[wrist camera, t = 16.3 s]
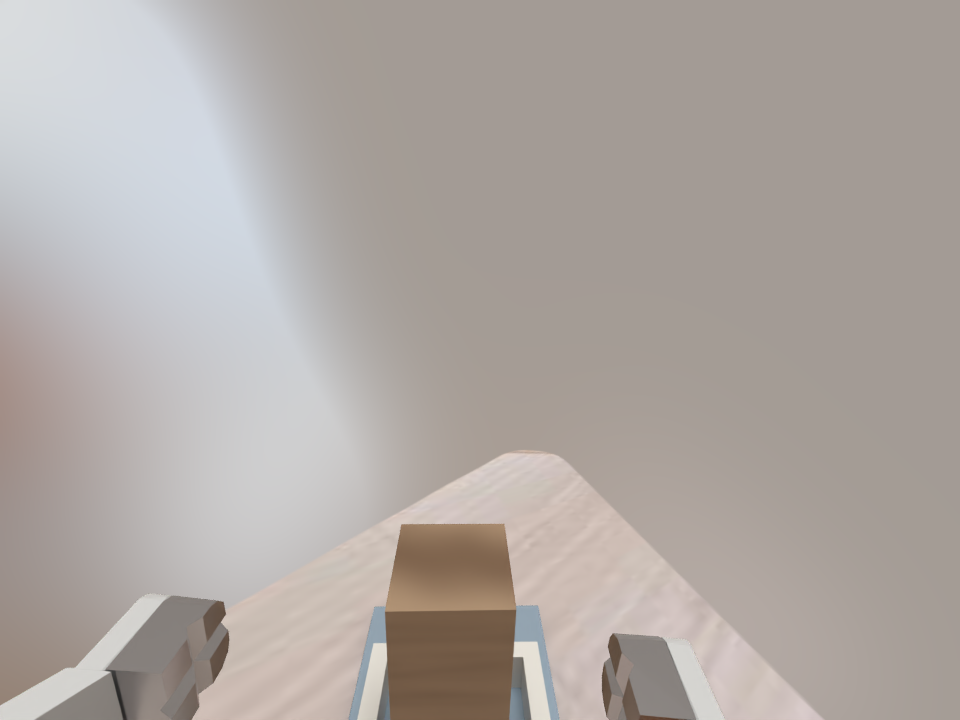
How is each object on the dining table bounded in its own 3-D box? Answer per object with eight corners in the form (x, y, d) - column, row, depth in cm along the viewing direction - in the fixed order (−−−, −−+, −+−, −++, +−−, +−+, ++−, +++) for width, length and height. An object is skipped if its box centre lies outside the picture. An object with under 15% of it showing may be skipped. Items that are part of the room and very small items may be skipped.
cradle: (598, 950, 18) (608, 903, 17) (297, 961, 18) (288, 913, 17) (537, 613, 33) (540, 578, 32) (375, 615, 33) (373, 579, 32)
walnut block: (502, 823, 21) (516, 609, 17) (395, 827, 21) (384, 611, 17) (494, 711, 26) (504, 523, 22) (407, 714, 26) (401, 524, 22)
